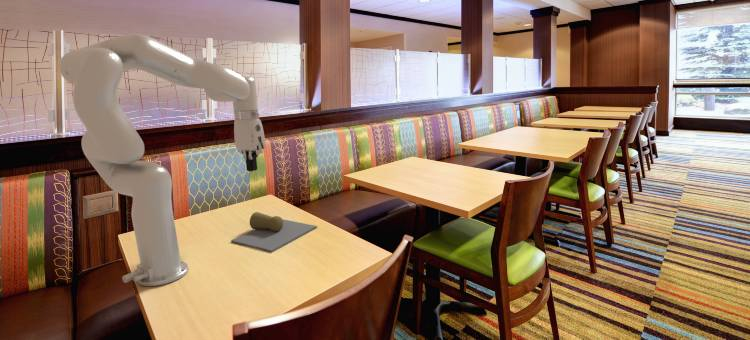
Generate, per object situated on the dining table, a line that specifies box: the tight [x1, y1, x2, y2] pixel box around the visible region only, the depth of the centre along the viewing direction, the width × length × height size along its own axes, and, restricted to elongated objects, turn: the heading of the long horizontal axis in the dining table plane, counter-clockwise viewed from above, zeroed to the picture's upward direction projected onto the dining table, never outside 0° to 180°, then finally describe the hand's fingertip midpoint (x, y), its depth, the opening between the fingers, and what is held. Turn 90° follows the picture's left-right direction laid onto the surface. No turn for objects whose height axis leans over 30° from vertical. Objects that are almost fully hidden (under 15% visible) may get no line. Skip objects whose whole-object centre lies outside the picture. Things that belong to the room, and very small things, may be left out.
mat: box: [230, 218, 318, 253], centre depth 134 cm, size 22×18×1 cm
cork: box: [249, 211, 284, 231], centre depth 137 cm, size 6×6×11 cm
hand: (252, 170), depth 134 cm, fingers closed
